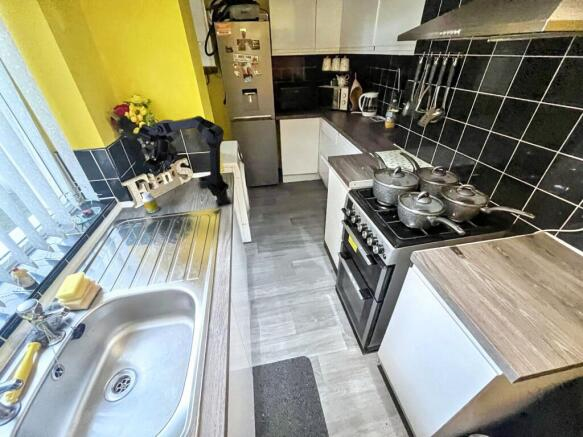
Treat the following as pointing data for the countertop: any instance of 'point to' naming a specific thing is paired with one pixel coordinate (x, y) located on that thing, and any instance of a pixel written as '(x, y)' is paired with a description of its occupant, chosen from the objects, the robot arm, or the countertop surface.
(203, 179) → the pad socket
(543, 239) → the countertop surface
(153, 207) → the supplement bottle
